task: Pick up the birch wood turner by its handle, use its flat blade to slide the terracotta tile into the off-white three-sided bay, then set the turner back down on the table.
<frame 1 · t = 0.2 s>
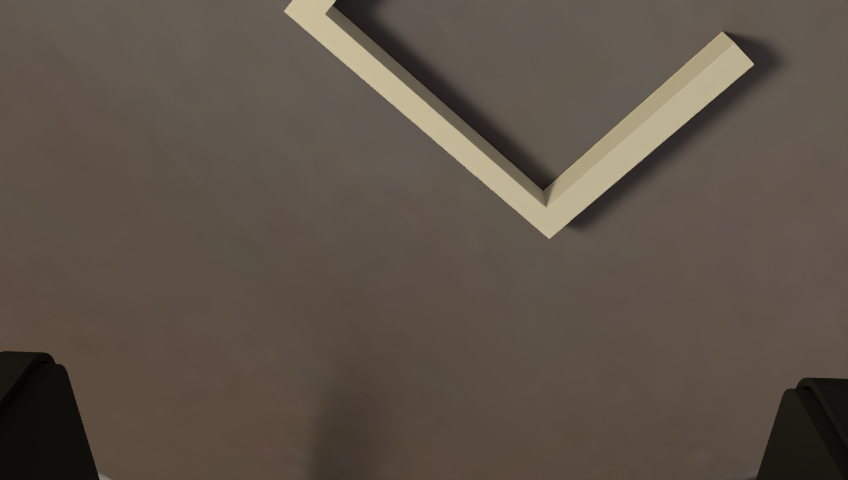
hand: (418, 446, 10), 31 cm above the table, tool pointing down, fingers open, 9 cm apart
bay: (526, 17, 37), on the table
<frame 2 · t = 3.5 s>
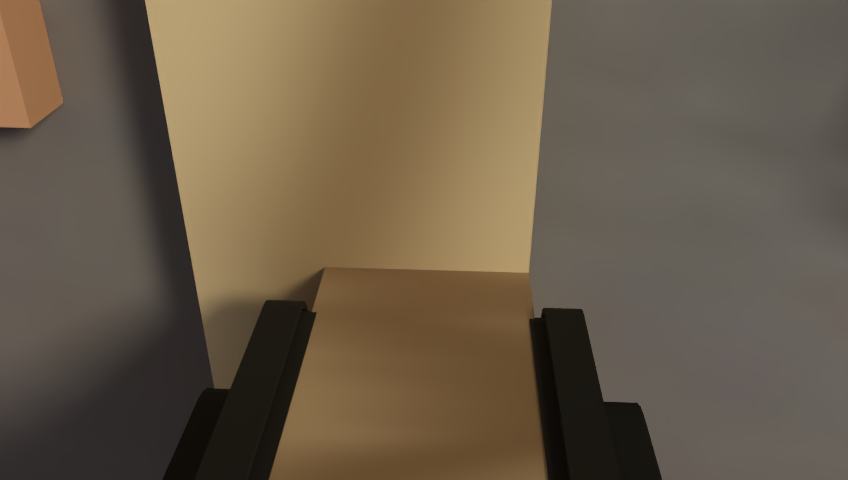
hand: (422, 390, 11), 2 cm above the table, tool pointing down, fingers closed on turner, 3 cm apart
turner: (429, 306, 13), on the table, touching gripper
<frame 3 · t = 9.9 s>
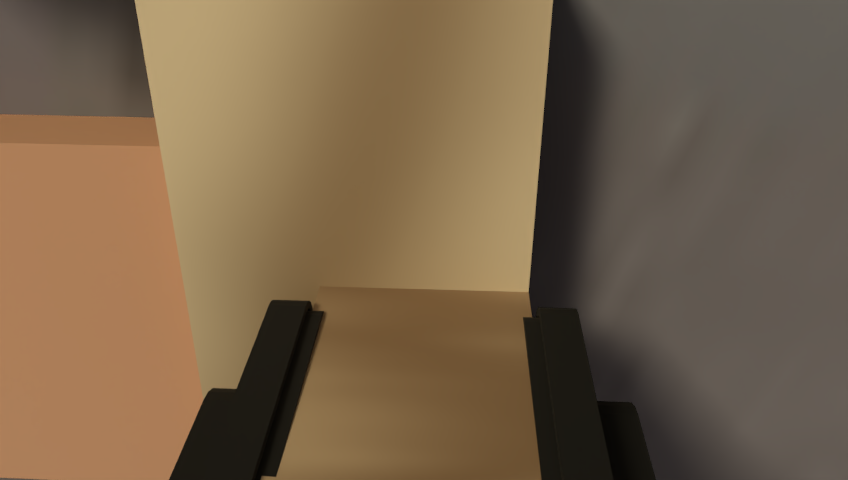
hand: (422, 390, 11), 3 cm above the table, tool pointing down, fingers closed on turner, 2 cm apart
turner: (426, 326, 13), point 1 cm above the table, touching gripper, tile
tile: (53, 284, 14), on the table, touching turner
when the fingers open (4 cm above the table, at t = 16.0 s): turner drops 2 cm, on the table.
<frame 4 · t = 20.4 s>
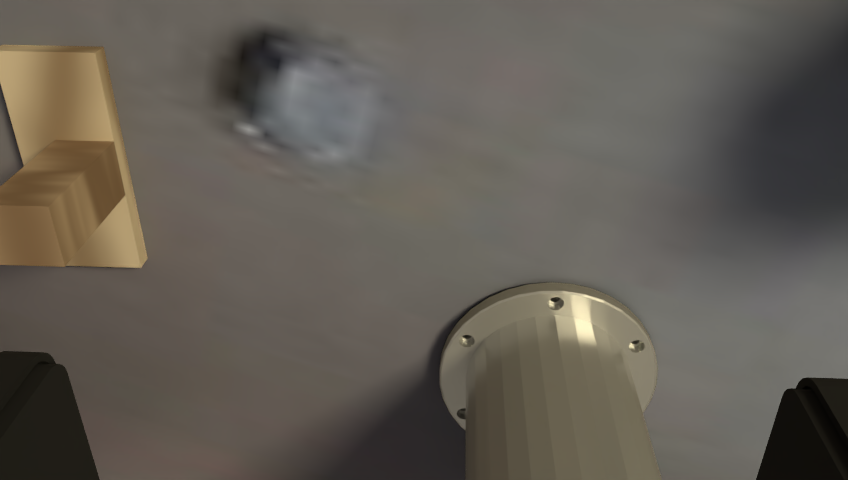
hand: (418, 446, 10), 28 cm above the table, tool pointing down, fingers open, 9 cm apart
turner: (100, 158, 40), on the table
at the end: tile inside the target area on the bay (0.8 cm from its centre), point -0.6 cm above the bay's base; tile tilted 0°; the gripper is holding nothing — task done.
